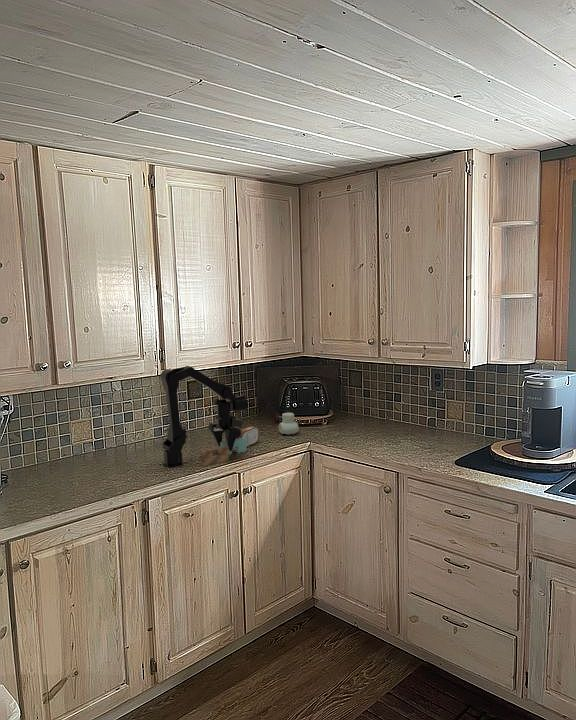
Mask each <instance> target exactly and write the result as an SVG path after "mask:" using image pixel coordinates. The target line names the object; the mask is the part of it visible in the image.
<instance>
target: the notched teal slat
mask: <svg viewBox="0 0 576 720" xmlns="http://www.w3.org/2000/svg"><path fill="white" fill-rule="evenodd" d="M222 446H228V445H227V442H226V440H224V441H223V440H222V442H220V447H222ZM233 448H235V453H236V452H238V453H237V454H241V453H240V452H242V453H246V452H245V451H248V449H247V448H248V447H246V438H239V439H237V438H236V440H235V442H234V446H233ZM232 452H233V450H232V451H229V456H232V455H231V454H232Z"/></svg>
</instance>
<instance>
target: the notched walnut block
mask: <svg viewBox="0 0 576 720" xmlns="http://www.w3.org/2000/svg"><path fill="white" fill-rule="evenodd" d="M216 449H217V450H216V451H217V454H215V455H213V449H211V448H209V449H208V448H207V449H203V450H200V460H201V461H200V464H201V466H203V467H206V466H211V465H214V464H215V465H216V464H219V463H223V462H229V461H230V455H229V447H228V446H222V447H219V446H218V447H217V448H216Z"/></svg>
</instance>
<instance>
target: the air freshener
mask: <svg viewBox="0 0 576 720" xmlns="http://www.w3.org/2000/svg"><path fill="white" fill-rule="evenodd" d="M281 415H282V416H281V417H282V419H281V420H282V422H280V423H279V424H278V430H279V431H278V432H279V433H280V434H281V435H283V434H286V436H292V435H295V434H297V433H298V432H299V430H300V429H299V424H298V422H297V421H295V414H294V413H293V412H284V413H282V414H281ZM291 434H292V435H291Z"/></svg>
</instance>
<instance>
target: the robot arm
mask: <svg viewBox="0 0 576 720" xmlns="http://www.w3.org/2000/svg"><path fill="white" fill-rule="evenodd" d="M187 378H191V379H193V380H194V381H196V382H198V383H200V384H201V385H203V386H204V387H207V388H208V389H209V390H210V391H211V392H212V393H213V394H214V395H215V396H216V398H215V399H214V400H213V401H212V402H211V403H212V404H213V405H215V406H216V411H217V412H216V413H217V415H215V419H217V421H216V422H210V423H209V425H208V430H209V431H210V433H211V434H212V436H213V437H214V439H215V442H216V444H217V445H218V447H220V442H223V434H224V438H225V441H226V442H227V445H228V447H229V451H232V452H233V448H234V447H233V446H234V442H235V440H236V439H237V437H239V436H240V435H241V430H242V428H243V424H244V421H243V420H241V419H238V418H237V416H234V415H231V414H232V412H233V413H237V412H244V411H245V412H246V411H248V408H249V404H248V400H247V399H246V395H241V394H240V395H237V396H236V395H235V393H234V394H233V390H232V387H230V386H229V385H227V384H224V383H222V382H218V381H216V380H214V379H212V378H210V377H208V376H207V375H206V374H204V373H202V372H200V371H199V370H197V369H195V368H194V367H193V366H189V365H185V366H183V367H178V368H173V369H169V368H168V369H167V368H165V369H163V370H162V371H161V373H160V381H161V384H162V387H163V389H164V391H165V398H166V405H167V414H168V423H169V424H168V429H167V435H166V437H167V438H166V439H165V440H164V441H163V443H162V445H161V446H162V447H163V449H164V450H163V454H164V455H163V456H164V457H163V459H164V460H163V461H164V462H162V465H164V466H165V467H167V468H173V467H178V466H182V465H184V463H183V452H182V451H183V448H184V445H185V444H186V441H187V439H188V437H187V429H186V428H185V427H183V426H182V425H181V417H180V409H179V400H178V399H179V397H178V388H179V386H180V381H183V380H185V379H187ZM217 397H218V398H217ZM219 398H221V399H219Z"/></svg>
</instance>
